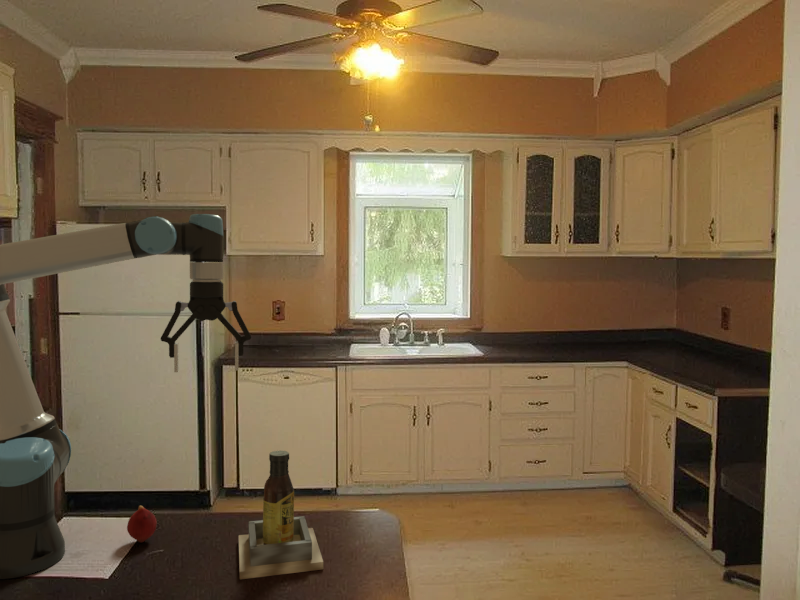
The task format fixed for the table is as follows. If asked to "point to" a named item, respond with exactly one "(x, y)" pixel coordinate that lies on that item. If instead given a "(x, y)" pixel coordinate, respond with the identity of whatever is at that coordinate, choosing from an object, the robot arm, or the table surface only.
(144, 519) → the onion
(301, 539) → the bottle holder
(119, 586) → the table surface
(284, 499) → the sauce bottle
